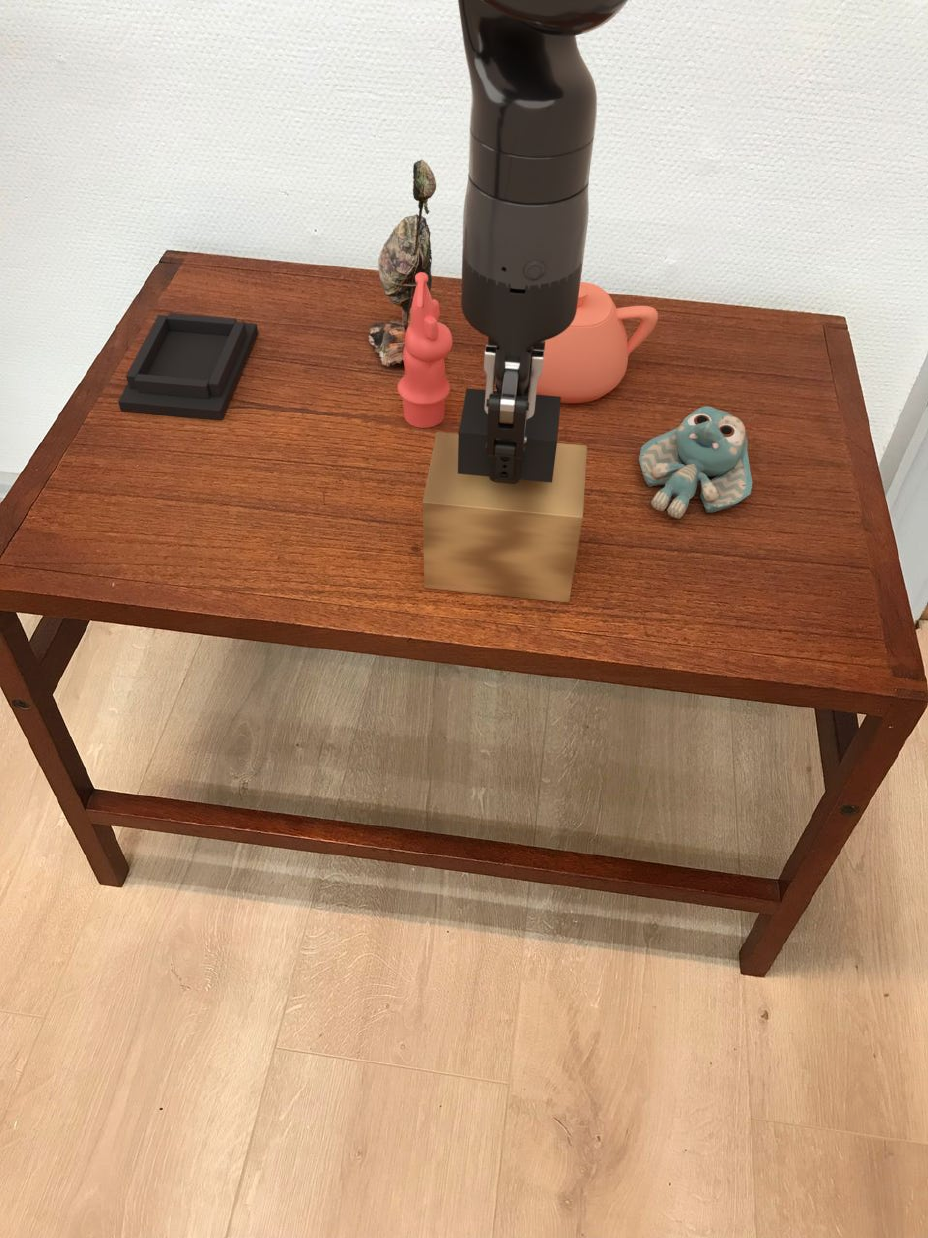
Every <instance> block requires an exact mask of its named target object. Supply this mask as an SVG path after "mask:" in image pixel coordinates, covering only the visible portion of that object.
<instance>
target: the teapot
mask: <svg viewBox="0 0 928 1238" xmlns="http://www.w3.org/2000/svg"><path fill="white" fill-rule="evenodd" d="M630 319H631V320H632V319H639V320H640V323H639V325H638V327H637V329H636V331H635V332H634V333H633V335H632V336H631V337H630V339H629V340H628V336H627V332H626V327H625V326H624V323H623V320H630ZM658 319H659V313H658V311H657V309H656V308H655V307H652V306H648V305H631V306H624V307H616V305H615V303H614V301H613V299H612V297H611V296H610V295H609V294H608V292H607V290H605V289H604V288H602V287H601V286H599V285H596V284H594V283H591V282H588V281H587V282H586V281H580V288H579V296H578V304H577V311H576V315H575V318H574V320H573V322H572V323H571V325H570V326H569V327H568V328H567V329H566V330H565V331H563V332H562V333H561V334H559V335H557V336H555V337H553V338H551V339H548V340H546V341H545V350H544V360H543V369H542V375H541V377H540V378H539V379H538V382H537V392H536V395H547V396H558V397H561V403H560V404H583V403H584V404H585V403H590V402H593V401H596V400H598V399H601V398H602V397H604V396H605V395H607V394H609V393H610V392H612V390H614V389H615V388H616V387H617V386H618V385H619V384H620V383H621V381H622V380H623V378H624V377H625V375H626V373H627V369H628V363H629V356H630V354H631V353H632V352H634V351H635V350H636V349H637V347H639V346H640V345H641V344H642V343H643V342H644V341H645V340H646V339H647V338H648V337H649V336H650V334H651V333H652V331H653V330H654V329H655V327H656V325H657V323H658ZM528 390H529V389H528Z"/></svg>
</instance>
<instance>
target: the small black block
mask: <svg viewBox="0 0 928 1238" xmlns="http://www.w3.org/2000/svg"><path fill="white" fill-rule="evenodd" d="M485 394H486V389H478V388H469V387H468V388H467V387H466V390H465V394H464V400H463V406H462V412H461V417H460V423H459V429H458V434H459V437H458V474H467V475H478V476H488V477H489V473H490V456H487V450H485V446H486V443H487V429H488V414H487V413H486V412H485V409H484V407H485ZM494 394H500V393H498V392H497V390H494ZM501 395H502V394H501ZM522 396H524V397H528V396H529V394H526V395H522ZM561 404H562V403H561V397H558V396H547V395H536V402H535V411H534V415H533V416H532V417H531V418H529V419H527V421H526V429H525V436H527V440H526V444H525V443H524V447H525V454H523V455H522V459H521V469H520V478H519V480H530V481H540V482H552V479H553V471H554V463H555V455H556V447H557V443H558V439H559V437H558V436H559V426H560V413H561Z"/></svg>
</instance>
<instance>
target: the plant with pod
mask: <svg viewBox="0 0 928 1238" xmlns="http://www.w3.org/2000/svg"><path fill="white" fill-rule="evenodd" d="M412 174H413V175H412V179H413V181H412V184H413V185H412V195H413V200H415V201H416V202H418V206H417V207H418V209H419V211H418V214H414V215H409V216H408V215H407V216H405V217H404V218H403V219H401V221H400V222H399V223H398V224H397V225H396V226H395V227H394V229H392V232H391V233H390V235H389V237H388V238H387V240H386V241H385V242H384V244H383V246H382V248H381V251H380V253H379V257H378V259H377V262H378V265H377V266H378V268H377V269H378V277H379V280H380V283H381V286H382V289H383V290H384V295H385V296H386V297H387V298H388V300H390V302H391V303H392V305H396V306H399V307H401V308H402V311H401V319H402V321H399V320H397V319H391V320H388V321H386V322H384V321H382V322H380V321H379V322H376V323H371V324H370V326H369V335H368V342H369V344H371V345H372V347H375V349H374V352H375V353H378V354H379V355H378V357H380V361H381V365H383V366H386V367H390V364H391V365H392V366H395V365H396V364H397V363H398V364H402V361H404V359H403V352H404V347H405V335H406V331H407V328H408V326H409V324H410V321H411V306H412V301H413V297H414V293H415V289H416V286H417V283H416V281H415V276H416V274H417V273H420V272H423V273H426V274H427V275H428V282H427V283H426V284H427V286H428V289H429V292H430V293H431V289H432V282H433V279H432V276H433V275H432V263H433V262H432V261H433V257H432V243H431V231H430V226H429V224H427V218H426V217H425V216H423V209H424V212H425V214H426V215H429V214H430V212H431V211H430V210H429V207H428V205H429V204H428V201H429V199H431V198H432V197H433V196H434V194H435V192H436V190H437V181H436V177H435V174H434V173H433V170H432V169H431V167H430V165H429V164H428V163H427V162H426V161H425V160H424V159H420V160H417V161H416V162H414V163H413V167H412Z"/></svg>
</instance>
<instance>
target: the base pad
mask: <svg viewBox="0 0 928 1238" xmlns="http://www.w3.org/2000/svg"><path fill="white" fill-rule="evenodd" d="M258 335H259V329H258V324H257V323H253V322H252V323H251V322H245V321H237V318H233V317H221V316H209V315H197V314H186V313H175V312H169V313H168V314H167V315H165V314H158V315H157V316H156V318H155V320H154V322H153V323H152V325H151V327H150V329H149V331H148V333H147V335H146V337H145V339H144V340H143V343H142V345H141V346H140V348H139V349H138V352H137V354H136V356H135V358H134V360H133V361H132V363H131V365H130V367H129V369H128V371H127V373H126V375H125V379H126V381H127V383H126V385H125V387H124V389H123V391H122V393H121V395H120V397H119V399H118V401H117V403H118V406H119V409H120V411H121V412H125V413H126V412H128V413H136V414H137V413H138V414H147V415H148V414H149V415H160V416H171V417H181V418H191V419H192V418H193V419H203V420H204V419H205V420H215V421H223V420H224V418H225V416H226V413H227V410H228V407H229V405H230V402H231V401H232V398H233V395H234V393H235V390H236V389H237V386H238V383H239V381H240V378H241V376H242V374H243V371H244V369H245V366H246V364H247V361H248V360H249V357H250V354H251V352H252V350H253V348H254V345H255V343H256V339H257V337H258Z"/></svg>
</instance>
